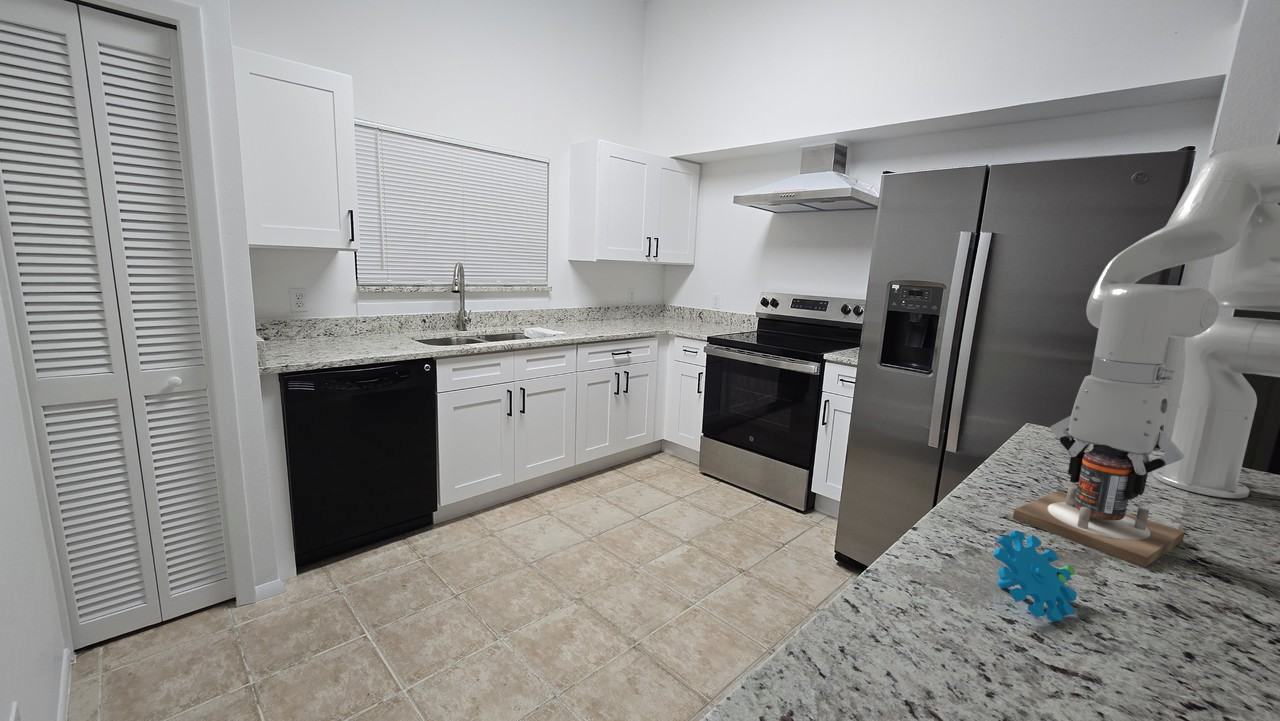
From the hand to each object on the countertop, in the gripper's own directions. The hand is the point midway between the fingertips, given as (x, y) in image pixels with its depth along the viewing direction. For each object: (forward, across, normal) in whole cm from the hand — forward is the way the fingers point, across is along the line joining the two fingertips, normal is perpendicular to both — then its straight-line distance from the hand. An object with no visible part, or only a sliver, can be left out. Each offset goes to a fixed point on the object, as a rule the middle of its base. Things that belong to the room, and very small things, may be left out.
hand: (1103, 487), depth 81 cm
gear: (+7, -4, +30) cm, 31 cm away
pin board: (+7, 0, 0) cm, 7 cm away
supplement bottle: (+4, 0, 0) cm, 4 cm away
